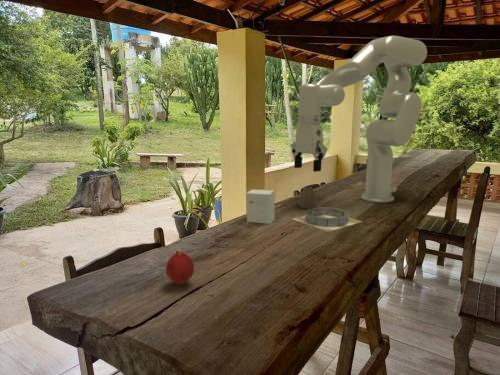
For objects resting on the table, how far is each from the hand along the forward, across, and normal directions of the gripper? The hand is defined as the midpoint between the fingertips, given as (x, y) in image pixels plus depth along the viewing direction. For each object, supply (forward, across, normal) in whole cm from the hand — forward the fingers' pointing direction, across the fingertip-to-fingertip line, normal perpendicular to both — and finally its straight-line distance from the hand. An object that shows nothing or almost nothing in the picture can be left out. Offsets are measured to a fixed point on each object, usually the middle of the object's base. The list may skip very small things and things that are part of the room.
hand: (307, 169), depth 128 cm
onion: (+17, -26, +61) cm, 69 cm away
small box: (+16, -2, +22) cm, 27 cm away
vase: (+15, 0, -1) cm, 15 cm away
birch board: (+15, -15, +5) cm, 22 cm away
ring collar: (+14, -15, +5) cm, 21 cm away
